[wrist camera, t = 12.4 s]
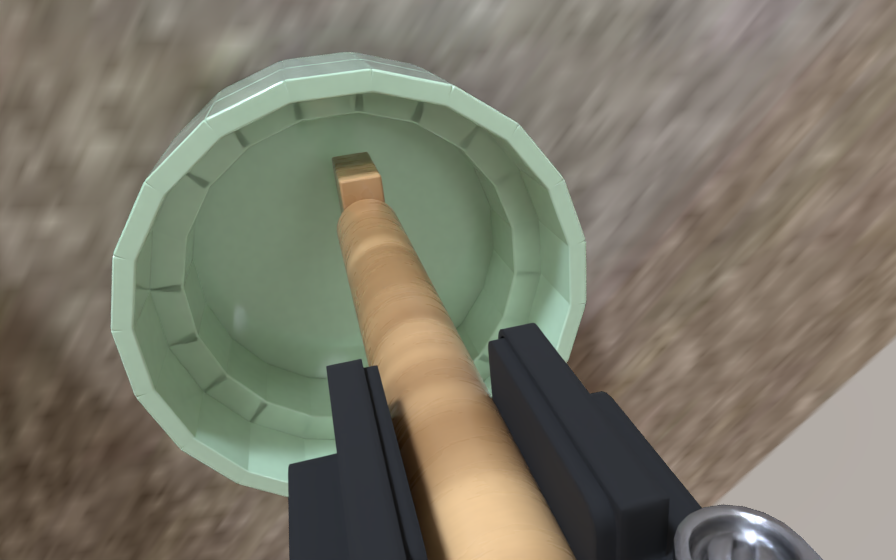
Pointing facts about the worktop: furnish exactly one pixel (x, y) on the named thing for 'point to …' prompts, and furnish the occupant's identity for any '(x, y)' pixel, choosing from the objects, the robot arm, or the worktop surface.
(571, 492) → the robot arm
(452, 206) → the bowl
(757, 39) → the worktop surface
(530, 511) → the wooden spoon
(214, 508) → the worktop surface
